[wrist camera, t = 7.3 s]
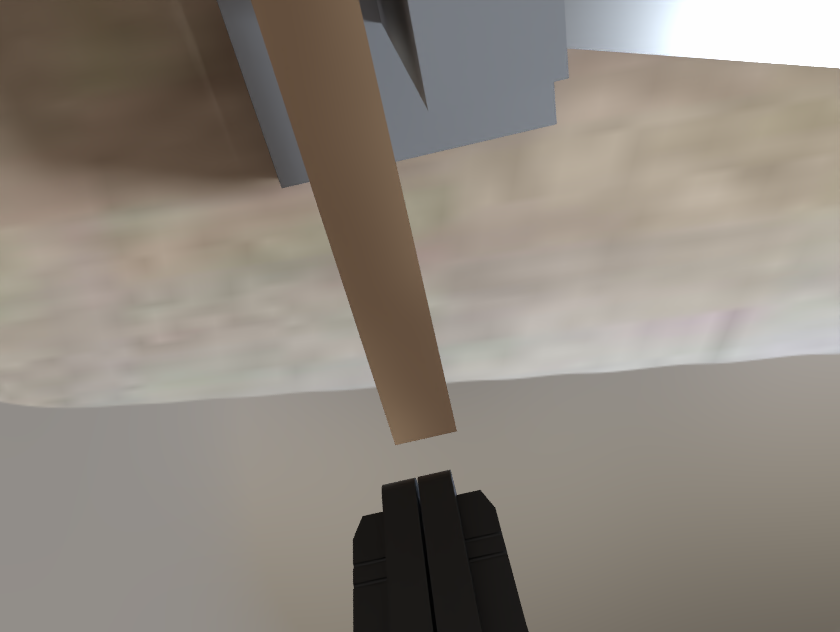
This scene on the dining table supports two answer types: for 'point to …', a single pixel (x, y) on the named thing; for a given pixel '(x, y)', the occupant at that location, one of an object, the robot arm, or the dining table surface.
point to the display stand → (428, 72)
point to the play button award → (710, 29)
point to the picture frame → (360, 200)
